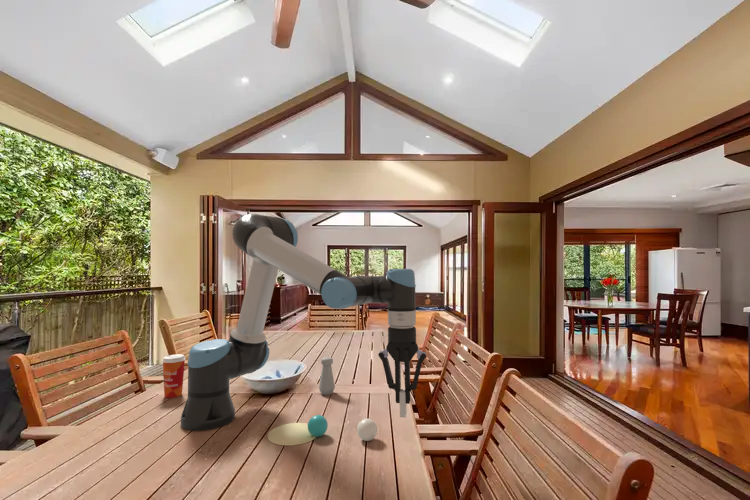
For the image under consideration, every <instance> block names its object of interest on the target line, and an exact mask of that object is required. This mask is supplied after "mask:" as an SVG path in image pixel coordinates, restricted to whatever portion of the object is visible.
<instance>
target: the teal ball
mask: <svg viewBox="0 0 750 500" xmlns="http://www.w3.org/2000/svg"><path fill="white" fill-rule="evenodd" d="M307 424H308V431H309V433H310V434H311V435H312V436H315V437H316V438H317V437H321V436H324V434H325V433H326V432H327V430H328V421H327V419H326V417H324V416H323V415H321V414H316V415H313V416H312V417H311V418H310V419H309V420H308V422H307Z"/></svg>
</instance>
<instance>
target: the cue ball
mask: <svg viewBox="0 0 750 500" xmlns="http://www.w3.org/2000/svg"><path fill="white" fill-rule="evenodd" d="M356 433H357V436H358V437H359V438H360V439H361V440H362V441H364V442H368V441H373V440H374V439H375V437H376V436H377V433H378V426H377V423H375V421H374V419H371V418H363V419H362V420H360V421H359V422H358V424H357V427H356Z"/></svg>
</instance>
